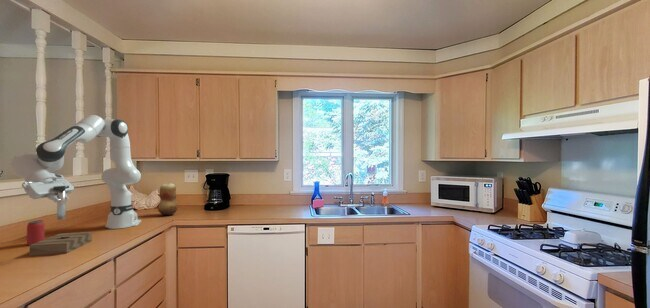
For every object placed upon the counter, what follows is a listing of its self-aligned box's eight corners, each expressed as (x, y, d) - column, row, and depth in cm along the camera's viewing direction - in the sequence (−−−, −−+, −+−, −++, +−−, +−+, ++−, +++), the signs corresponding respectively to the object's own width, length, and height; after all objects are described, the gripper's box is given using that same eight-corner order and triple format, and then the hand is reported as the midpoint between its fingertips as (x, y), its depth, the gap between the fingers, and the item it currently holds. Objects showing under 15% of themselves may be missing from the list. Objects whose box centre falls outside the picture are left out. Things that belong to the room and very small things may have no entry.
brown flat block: (59, 242, 151) (59, 233, 151) (91, 240, 154) (91, 231, 154) (29, 255, 131) (29, 245, 132) (66, 253, 135) (66, 243, 135)
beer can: (43, 241, 154) (43, 219, 154) (45, 243, 150) (45, 221, 150) (26, 244, 149) (26, 221, 149) (27, 246, 145) (27, 223, 145)
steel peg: (58, 217, 138) (58, 185, 138) (71, 217, 139) (71, 185, 139) (50, 220, 133) (50, 187, 133) (64, 219, 134) (64, 186, 134)
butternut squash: (155, 217, 212) (155, 184, 212) (161, 213, 225) (161, 183, 225) (175, 216, 215) (175, 184, 215) (180, 212, 228) (180, 182, 228)
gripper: (24, 178, 125) (47, 199, 126) (64, 174, 146) (84, 193, 146) (14, 188, 125) (36, 209, 126) (56, 183, 146) (75, 201, 146)
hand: (62, 200), depth 136 cm, fingers closed on steel peg, 3 cm apart
